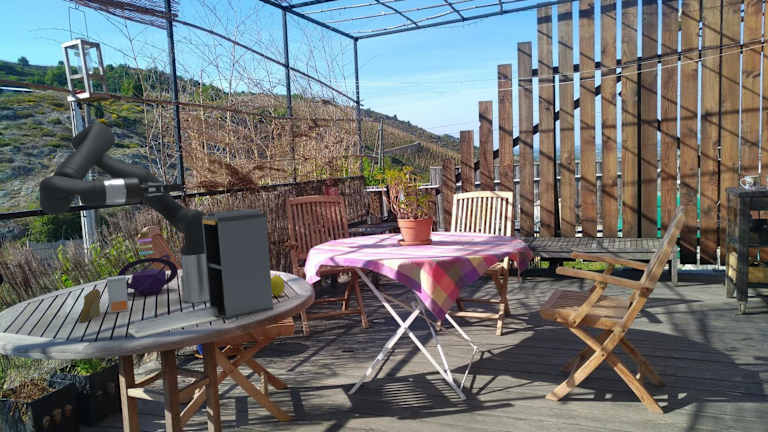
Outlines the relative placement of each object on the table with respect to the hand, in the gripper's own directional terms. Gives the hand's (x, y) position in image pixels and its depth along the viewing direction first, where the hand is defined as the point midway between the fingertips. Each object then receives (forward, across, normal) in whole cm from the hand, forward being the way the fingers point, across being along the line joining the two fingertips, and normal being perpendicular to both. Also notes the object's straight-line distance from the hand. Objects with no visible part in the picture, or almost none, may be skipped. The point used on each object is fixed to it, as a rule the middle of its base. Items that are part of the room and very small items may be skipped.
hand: (177, 187), depth 166 cm
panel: (-4, 0, -39) cm, 39 cm away
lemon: (+34, -7, -42) cm, 55 cm away
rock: (-23, -32, -42) cm, 58 cm away
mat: (-5, +1, -42) cm, 42 cm away
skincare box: (-12, -34, -42) cm, 56 cm away
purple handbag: (+4, -55, -42) cm, 69 cm away
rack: (+17, +1, -42) cm, 45 cm away
